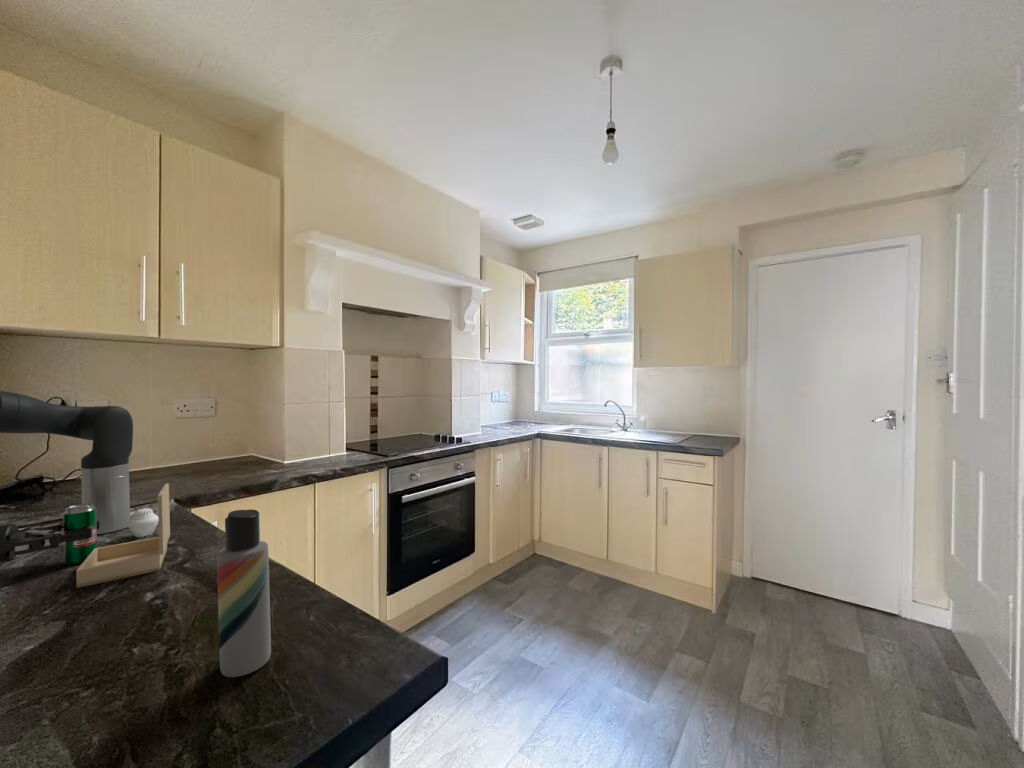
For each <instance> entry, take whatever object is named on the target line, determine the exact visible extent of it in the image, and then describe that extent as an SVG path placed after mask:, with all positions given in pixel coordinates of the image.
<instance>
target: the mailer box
mask: <svg viewBox="0 0 1024 768" xmlns="http://www.w3.org/2000/svg"><path fill="white" fill-rule="evenodd" d="M157 509H158V511H157V513H158V515H157V516H158V517H159V521H158V537H157V536H156V537H151V538H146V539H145V538H144V539H140V540H136V541H135V540H134V541H128V542H123V543H118V544H112V545H107V546H102V547H97V548H95V549H94V550H93V551H92V552H91V554H90V555H89V556H88V557H87V558H86V560H85V561H84V562H83V563H82V564H80V566H79V567H78V568H77V569H76V571H75V573H76V578H75V579H76V589H78V588H83V587H87V586H93V585H98V584H101V583H102V584H103V583H107V582H112V581H117V580H120V579H125V578H130V577H135V576H140V575H144V574H149V573H153V572H159V571H161V568H162V565H163V562H164V559H165V557H166V555H167V552H168V541H169V538H170V537H171V521H170V519H171V518H170V517H171V516H170V513H171V512H170V484H169V483H165V484H164V486H163V487H162V488H161V490H160V491H159V493H158V495H157Z"/></svg>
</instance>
